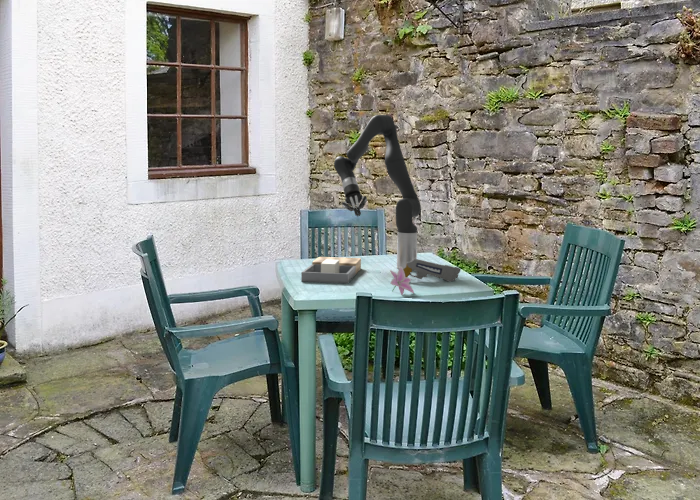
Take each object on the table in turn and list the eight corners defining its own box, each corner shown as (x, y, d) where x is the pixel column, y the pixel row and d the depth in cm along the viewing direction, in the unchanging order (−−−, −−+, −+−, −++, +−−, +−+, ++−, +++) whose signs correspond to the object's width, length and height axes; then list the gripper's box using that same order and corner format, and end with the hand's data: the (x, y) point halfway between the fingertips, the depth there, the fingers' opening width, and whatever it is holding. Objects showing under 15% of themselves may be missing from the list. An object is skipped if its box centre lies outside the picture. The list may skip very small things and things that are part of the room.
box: (355, 274, 337) (355, 265, 336) (347, 283, 316) (348, 274, 315) (311, 272, 340) (312, 264, 339) (301, 281, 319) (301, 272, 318)
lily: (385, 298, 292) (396, 278, 288) (377, 281, 302) (388, 262, 298) (411, 305, 297) (422, 286, 293) (402, 288, 307) (413, 270, 303)
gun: (448, 301, 325) (462, 269, 324) (397, 281, 319) (411, 248, 318) (446, 299, 328) (459, 268, 327) (395, 279, 322) (409, 247, 321)
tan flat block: (360, 268, 353) (361, 258, 352) (355, 274, 337) (355, 263, 336) (319, 267, 356) (319, 256, 355) (312, 272, 340) (312, 261, 340)
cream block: (339, 259, 335) (334, 264, 323) (339, 273, 336) (334, 277, 324) (326, 259, 336) (320, 263, 324) (326, 272, 337) (320, 277, 325)
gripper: (336, 187, 364) (343, 214, 354) (362, 180, 364) (370, 206, 353) (339, 197, 370) (346, 223, 360) (365, 189, 370) (373, 216, 359)
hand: (358, 215), depth 357 cm, fingers closed
